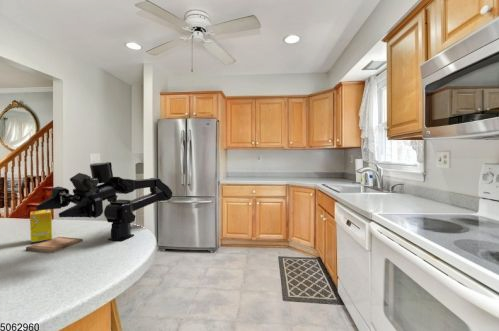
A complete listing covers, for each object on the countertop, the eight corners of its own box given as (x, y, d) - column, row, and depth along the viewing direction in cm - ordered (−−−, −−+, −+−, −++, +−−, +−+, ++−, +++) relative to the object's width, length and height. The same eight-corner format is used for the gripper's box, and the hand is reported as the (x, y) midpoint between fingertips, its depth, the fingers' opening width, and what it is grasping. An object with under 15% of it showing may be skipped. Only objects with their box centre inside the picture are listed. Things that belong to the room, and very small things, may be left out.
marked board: (59, 239, 90) (58, 236, 90) (82, 241, 87) (82, 238, 87) (26, 250, 79) (25, 246, 79) (52, 252, 77) (52, 249, 77)
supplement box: (30, 240, 89) (30, 211, 88) (51, 237, 93) (51, 209, 92) (30, 244, 84) (29, 214, 84) (52, 240, 88) (51, 211, 88)
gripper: (75, 167, 82) (21, 178, 68) (117, 176, 77) (68, 191, 63) (78, 197, 85) (26, 214, 71) (119, 208, 80) (72, 229, 65)
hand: (47, 211), depth 67 cm, fingers open, 9 cm apart
